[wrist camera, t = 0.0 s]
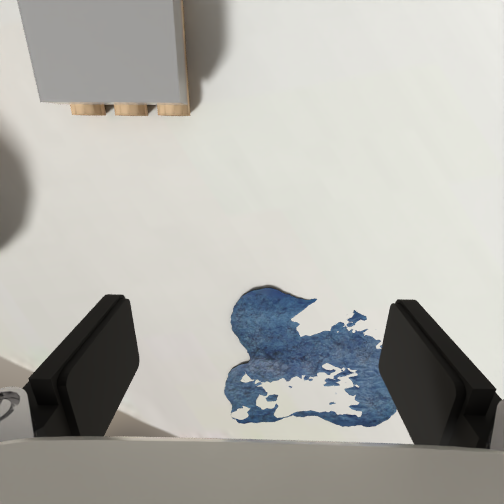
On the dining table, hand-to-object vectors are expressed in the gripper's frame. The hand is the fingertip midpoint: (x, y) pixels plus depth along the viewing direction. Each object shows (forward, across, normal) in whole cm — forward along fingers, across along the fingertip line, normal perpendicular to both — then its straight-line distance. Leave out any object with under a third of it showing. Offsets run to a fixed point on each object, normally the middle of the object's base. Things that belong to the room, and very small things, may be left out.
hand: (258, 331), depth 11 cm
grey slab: (+28, +15, -14) cm, 35 cm away
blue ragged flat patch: (+32, -10, +30) cm, 45 cm away
